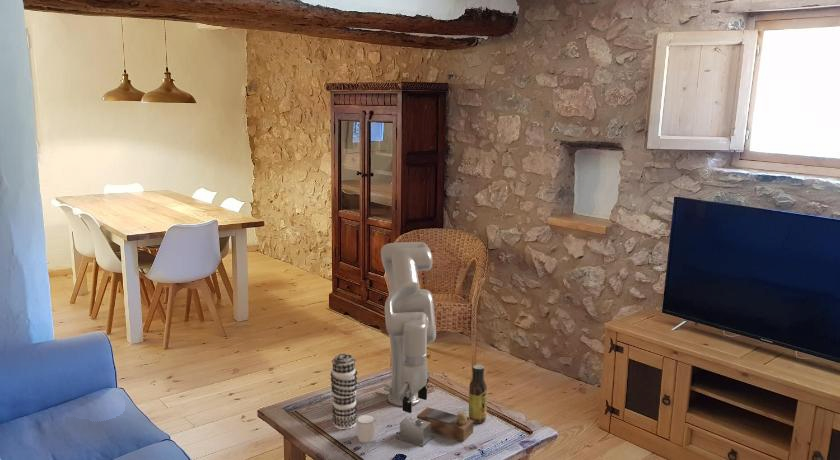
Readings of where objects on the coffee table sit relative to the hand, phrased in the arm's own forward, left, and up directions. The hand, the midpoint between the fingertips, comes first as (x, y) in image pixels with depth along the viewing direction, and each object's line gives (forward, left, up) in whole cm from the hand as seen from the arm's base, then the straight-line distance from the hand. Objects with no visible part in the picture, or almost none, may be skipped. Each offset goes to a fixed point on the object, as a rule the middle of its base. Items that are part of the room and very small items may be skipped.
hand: (414, 405), depth 209 cm
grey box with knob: (+1, -1, -11) cm, 11 cm away
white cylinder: (-13, -9, -12) cm, 20 cm away
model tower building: (-25, -5, -12) cm, 28 cm away
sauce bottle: (+13, +21, -12) cm, 27 cm away
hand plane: (+7, +9, -11) cm, 16 cm away
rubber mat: (+1, -1, -11) cm, 11 cm away
